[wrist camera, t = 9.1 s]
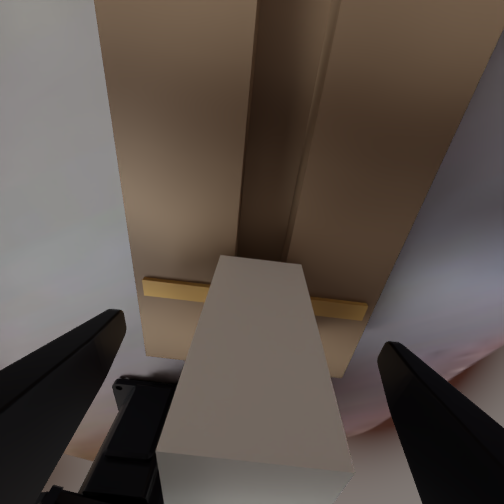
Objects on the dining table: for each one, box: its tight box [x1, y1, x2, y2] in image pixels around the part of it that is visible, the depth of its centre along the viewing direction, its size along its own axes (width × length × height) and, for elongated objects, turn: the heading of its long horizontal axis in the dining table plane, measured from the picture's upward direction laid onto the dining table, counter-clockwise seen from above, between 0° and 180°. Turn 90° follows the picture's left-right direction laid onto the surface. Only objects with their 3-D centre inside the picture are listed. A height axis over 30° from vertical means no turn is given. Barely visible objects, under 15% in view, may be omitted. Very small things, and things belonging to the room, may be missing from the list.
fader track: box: [94, 0, 504, 378], centre depth 8 cm, size 21×10×3 cm, turn 174°
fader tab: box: [155, 255, 355, 504], centre depth 8 cm, size 4×3×8 cm
